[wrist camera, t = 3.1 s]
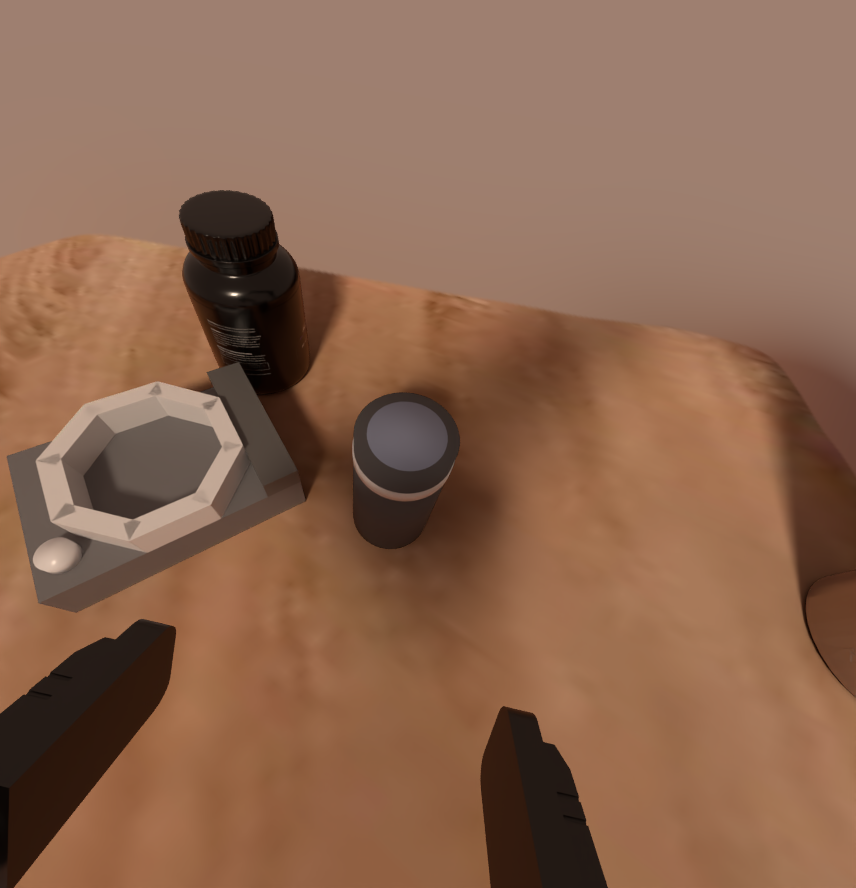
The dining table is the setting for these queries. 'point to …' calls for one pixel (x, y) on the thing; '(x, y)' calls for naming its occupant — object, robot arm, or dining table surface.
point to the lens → (400, 466)
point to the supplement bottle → (245, 288)
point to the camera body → (148, 485)
